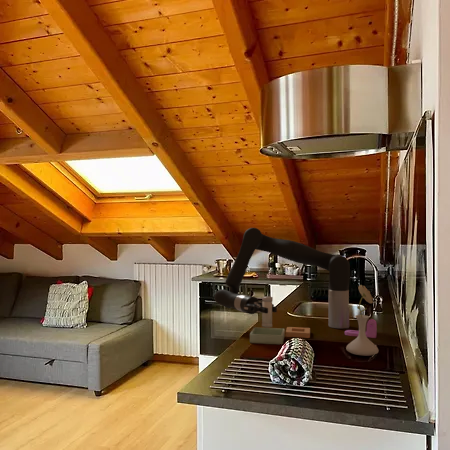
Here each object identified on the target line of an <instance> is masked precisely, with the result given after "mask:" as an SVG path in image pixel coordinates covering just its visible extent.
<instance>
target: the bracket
mask: <svg viewBox="0 0 450 450" xmlns="http://www.w3.org/2000/svg"><path fill="white" fill-rule="evenodd" d="M377 324H378V323H377V320H375V319H374V318H370V319H368V320H367V322H366V330H365V334H366V337H367V338H370V339H371V338H372V339H376V338H377V333H378V332H377V331H378V330H377V327H378V326H377ZM344 335H345V336H350V337H358V335H359V330H354V329H346V330H344Z"/></svg>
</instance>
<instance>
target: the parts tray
mask: <svg viewBox="0 0 450 450" xmlns="http://www.w3.org/2000/svg"><path fill="white" fill-rule="evenodd" d="M285 329H286V328H277V327H260V326H259V327H257V326H256V327H255V326H254V327H253V328H252V329H251V331H250V333H249V343H250V344H264V345H280V344H281V345H282V344H284V342H285V341H284V340H285V337H286V330H285Z"/></svg>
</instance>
